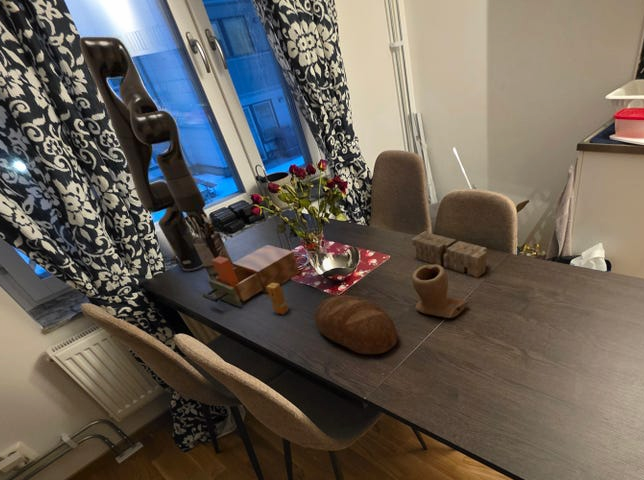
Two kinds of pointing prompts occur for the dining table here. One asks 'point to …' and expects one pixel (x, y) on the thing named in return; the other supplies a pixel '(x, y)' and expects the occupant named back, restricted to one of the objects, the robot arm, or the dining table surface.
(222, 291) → the drawer
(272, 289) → the supplement box
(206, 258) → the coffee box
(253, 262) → the cabinet
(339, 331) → the bread
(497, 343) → the dining table surface
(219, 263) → the snack carton
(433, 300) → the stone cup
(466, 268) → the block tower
